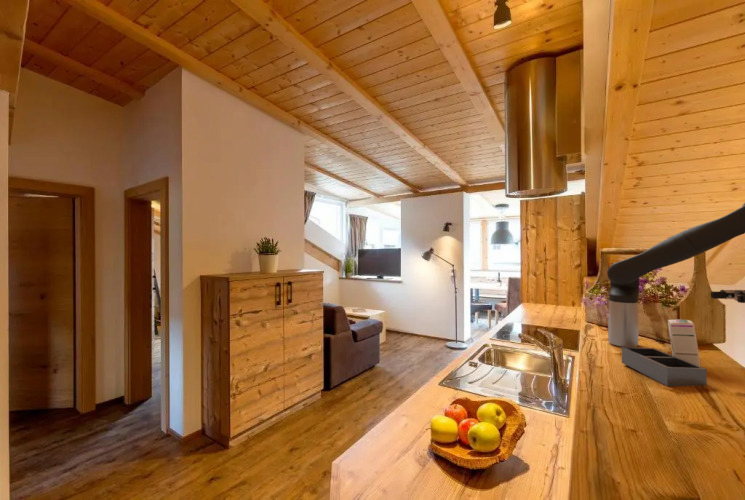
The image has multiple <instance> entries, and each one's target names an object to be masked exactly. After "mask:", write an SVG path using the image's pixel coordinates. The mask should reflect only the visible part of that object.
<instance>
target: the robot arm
mask: <svg viewBox="0 0 745 500" xmlns="http://www.w3.org/2000/svg"><path fill="white" fill-rule="evenodd" d="M744 234H745V202H744V203H743V204H742V206H741V207H739V208H737V209H736V210H734V211H732V212H729V213H728V214H726V215H724V216H722V217H719V218H717V219H713V220H711V221H708V222H705V223H701V224H699V225H696V226H695V225H694V226H693V227H690V228H688V229H684V230H683V231H680V232H679V233H676V234H673V235H672V236H669V237H668V238H666V239H664V240H662V241H660V242H658V243H657V244H655V245H653V246H651V247H650V248H648V249H646V250H645V251H643V252H641V253H639V254H636V255H634V256H631V257H629V258H625V259H623V260H619V261H616V262H614V263H612V264H611V265H610V266H609V267H608V268H607V273H606V275H607V278H608V280H610V281H609V282H610V284H609V285H610V286H609V294H608V319H607V326H608V327H607V329H608V330H607V331H608V332H607V333H608V334H607V341H608V343H609V344H611V345H614V346H618V347H621V348H622V347H631V348H635V347H634V346H638V347H639V296H640V278H641V277H643V276H645V275H648V274H649V273H651V272H653V271H657V270H659V269H662V268H665V267H668V266H672V265H675V264H678V263H681V262H683V261H687V260H689V259H691V258H693V257H696V256H698V255H701V254H703V253H705V252H708V251H710V250H712V249H713V248H716V247H719V246H720V245H722V244H725V243H727V242H728V241H730V240H733V239H734V238H737V237H740V236H742V235H744ZM704 251H705V252H704ZM710 298H711V299H717V300H718V299H719V300H721V299H725V300H734V301H735V302H737V303H740V304H745V289H726V290H725V289H721V290H719V291H711V292H710Z"/></svg>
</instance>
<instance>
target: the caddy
mask: <svg viewBox="0 0 745 500" xmlns="http://www.w3.org/2000/svg"><path fill="white" fill-rule="evenodd" d="M621 363H622V364H623V365H626V366H628V367H630V368H631V369H633V370H636V371H638V372H639V373H640V374H643V375H644V376H646V377H648V378H651V379H652V380H654V381H656V382H659V383H660V384H661V385H663V386H666V387H693V386H696V387H697V386H699V387H700V386H708V382H707V381H708V380H707V379H708V372H707V371H708V370H707V368H705V367H702V366H701V365H700V366H701V367H700V366H698V365H695V364H693V363H690V362H688V361H685V360H683V359H680V358H677V357H675V356H672V354H670V353H667V352H665V351H663V350H660V349H657V348H654V347H622V346H621Z"/></svg>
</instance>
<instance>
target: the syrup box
mask: <svg viewBox="0 0 745 500" xmlns="http://www.w3.org/2000/svg"><path fill="white" fill-rule="evenodd" d="M667 325H668V334H669V340H670V341H669V342H670V349H671V355H672V356H675V357H677V358H680V359H683V360H685V361H688V362H690V363H693V364H695V365H698V366H700V367H702V366H701V361H700V353H699V348H698V347H699V346H698V341H697V340H698V339H697V333H696V327H695V323H694V322H693V321H692V320H691V319H680V318H679V319H667Z"/></svg>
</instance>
